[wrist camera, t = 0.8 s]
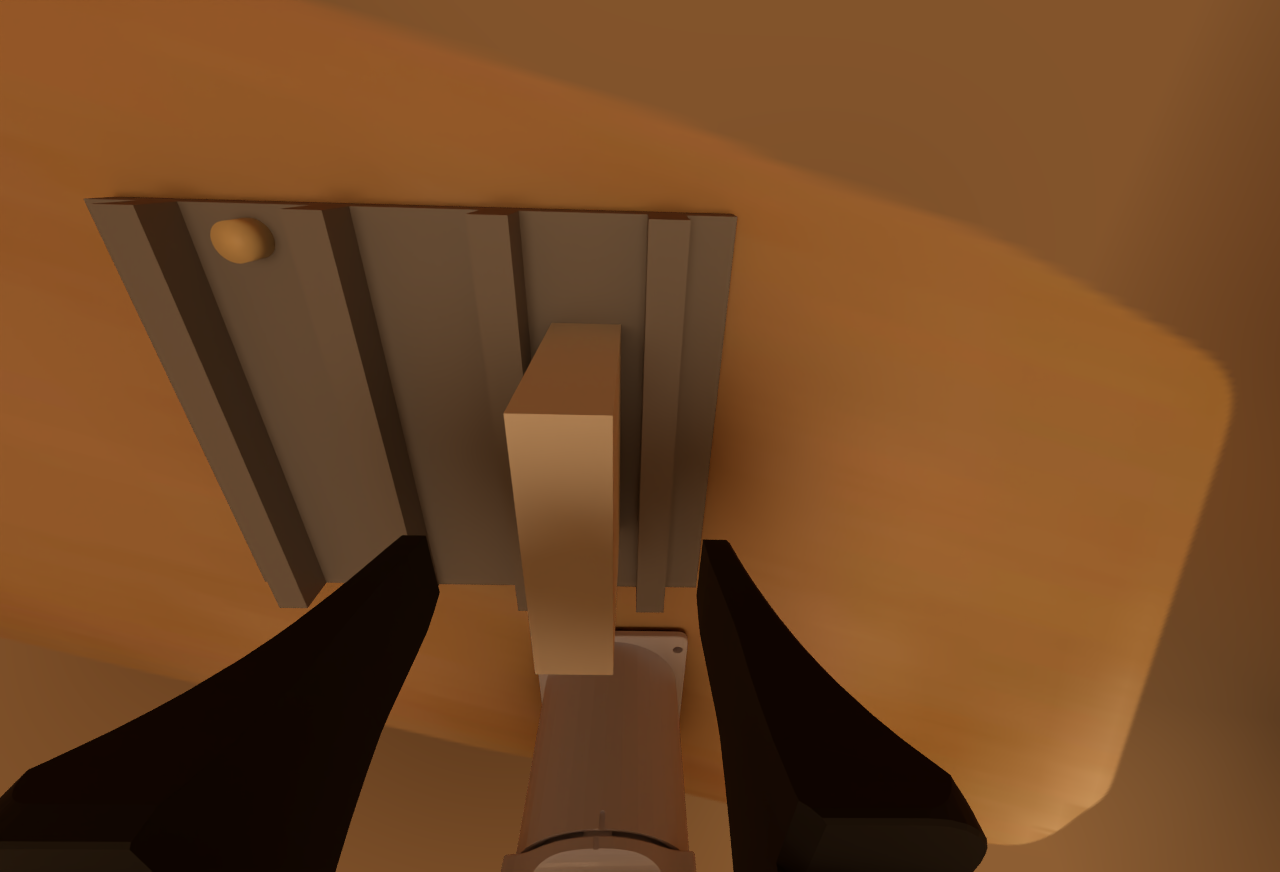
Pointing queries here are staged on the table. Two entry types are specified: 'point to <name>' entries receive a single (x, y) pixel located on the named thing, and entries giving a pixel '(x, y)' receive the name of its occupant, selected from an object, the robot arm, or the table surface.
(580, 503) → the picture frame
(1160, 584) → the table surface
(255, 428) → the ridged panel
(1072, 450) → the table surface
